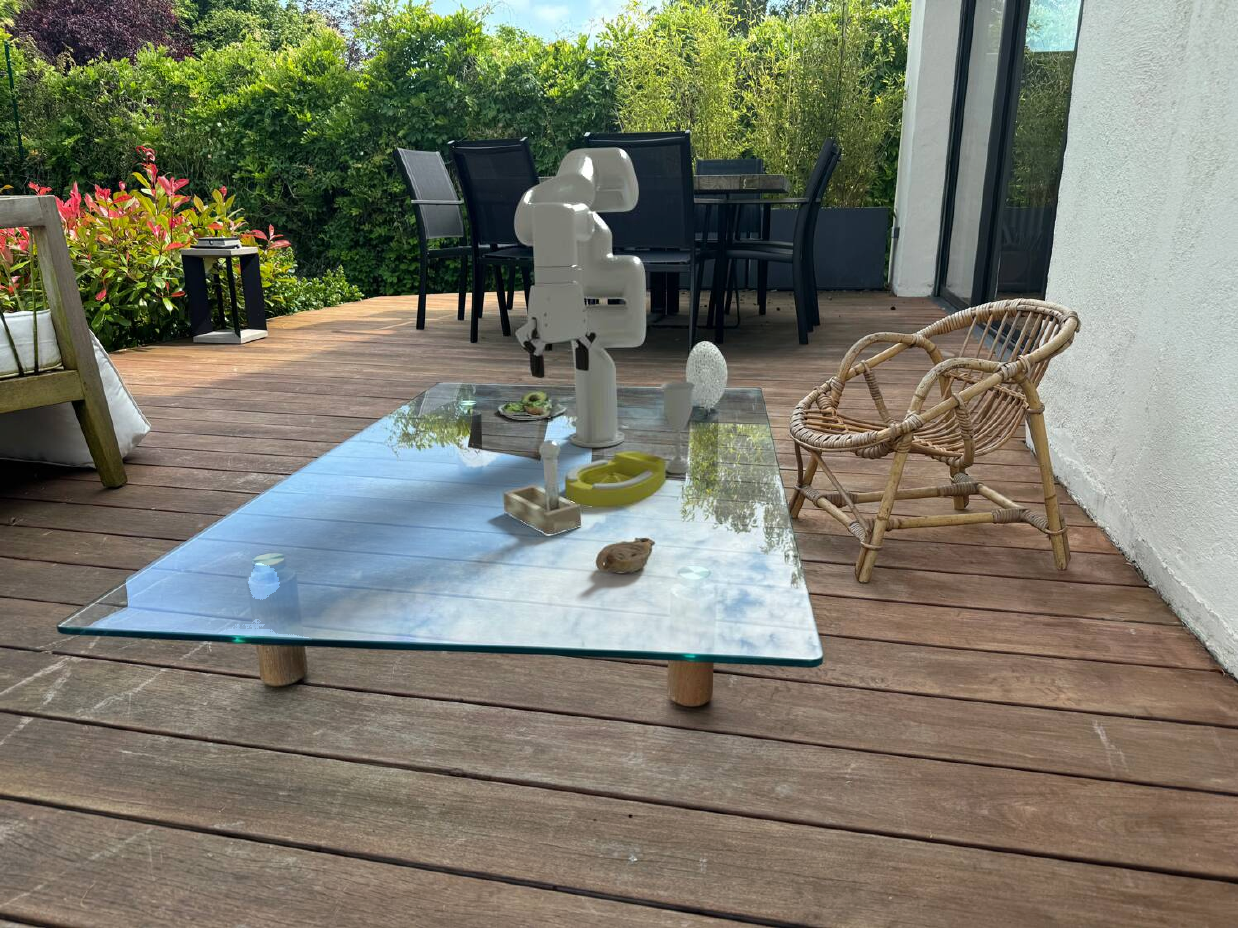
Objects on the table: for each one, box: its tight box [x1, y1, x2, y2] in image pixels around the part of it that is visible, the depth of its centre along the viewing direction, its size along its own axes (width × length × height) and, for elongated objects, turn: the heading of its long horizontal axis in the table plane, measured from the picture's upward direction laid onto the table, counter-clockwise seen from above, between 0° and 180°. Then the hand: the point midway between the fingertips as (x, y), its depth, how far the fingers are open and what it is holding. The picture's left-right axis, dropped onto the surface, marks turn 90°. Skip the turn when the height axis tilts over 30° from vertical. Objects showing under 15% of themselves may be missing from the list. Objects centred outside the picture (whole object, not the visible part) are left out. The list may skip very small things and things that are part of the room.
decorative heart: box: [685, 340, 728, 413], centre depth 224 cm, size 18×11×17 cm, turn 0°
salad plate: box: [497, 390, 567, 419], centre depth 226 cm, size 19×18×5 cm
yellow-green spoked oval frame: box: [564, 450, 667, 509], centre depth 167 cm, size 16×21×5 cm
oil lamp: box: [595, 537, 656, 573], centre depth 132 cm, size 13×8×5 cm, turn 140°
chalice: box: [660, 381, 695, 474], centre depth 175 cm, size 7×7×18 cm
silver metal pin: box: [538, 439, 561, 512], centre depth 148 cm, size 4×4×16 cm
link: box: [502, 484, 582, 534], centre depth 153 cm, size 15×7×4 cm, turn 37°
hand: (560, 373), depth 153 cm, fingers open, 9 cm apart
